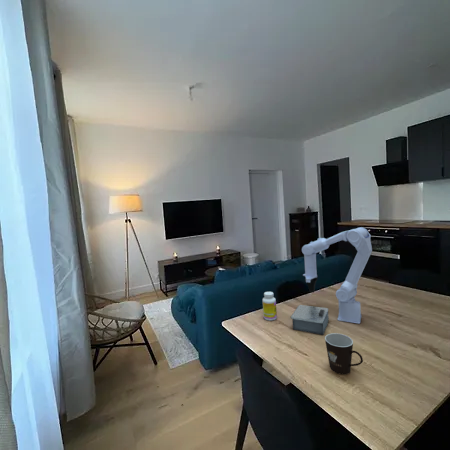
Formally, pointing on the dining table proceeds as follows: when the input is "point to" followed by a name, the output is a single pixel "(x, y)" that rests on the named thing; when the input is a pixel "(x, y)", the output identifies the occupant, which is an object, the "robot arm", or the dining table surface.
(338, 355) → the coffee mug
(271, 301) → the supplement bottle
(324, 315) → the steel lid
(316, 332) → the grey square box
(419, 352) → the dining table surface
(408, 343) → the dining table surface
